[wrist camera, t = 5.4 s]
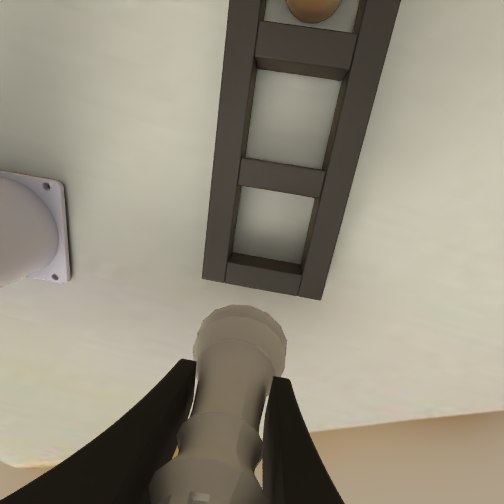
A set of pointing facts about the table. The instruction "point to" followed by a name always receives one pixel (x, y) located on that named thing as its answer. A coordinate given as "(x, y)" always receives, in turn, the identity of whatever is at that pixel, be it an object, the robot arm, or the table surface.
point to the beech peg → (313, 9)
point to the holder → (284, 175)
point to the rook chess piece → (225, 411)
